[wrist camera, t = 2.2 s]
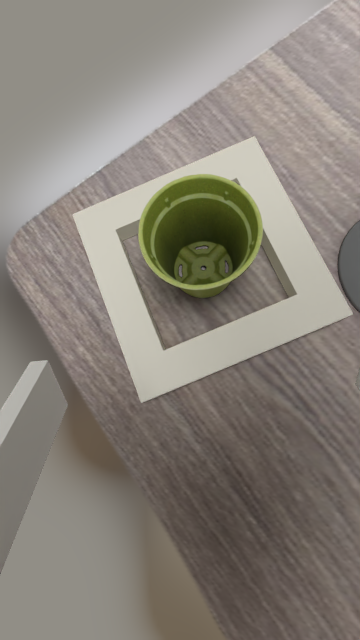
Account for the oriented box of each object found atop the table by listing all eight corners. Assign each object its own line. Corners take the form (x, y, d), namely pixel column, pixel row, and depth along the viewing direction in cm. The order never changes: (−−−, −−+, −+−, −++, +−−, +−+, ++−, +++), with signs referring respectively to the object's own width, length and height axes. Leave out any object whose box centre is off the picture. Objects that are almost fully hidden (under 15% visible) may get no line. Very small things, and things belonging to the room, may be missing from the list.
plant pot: (160, 319, 31) (141, 296, 23) (154, 233, 33) (134, 181, 25) (255, 309, 31) (271, 281, 22) (242, 221, 33) (253, 165, 24)
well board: (251, 153, 34) (254, 136, 31) (341, 319, 30) (353, 314, 27) (82, 226, 34) (72, 214, 32) (146, 401, 30) (141, 403, 27)
